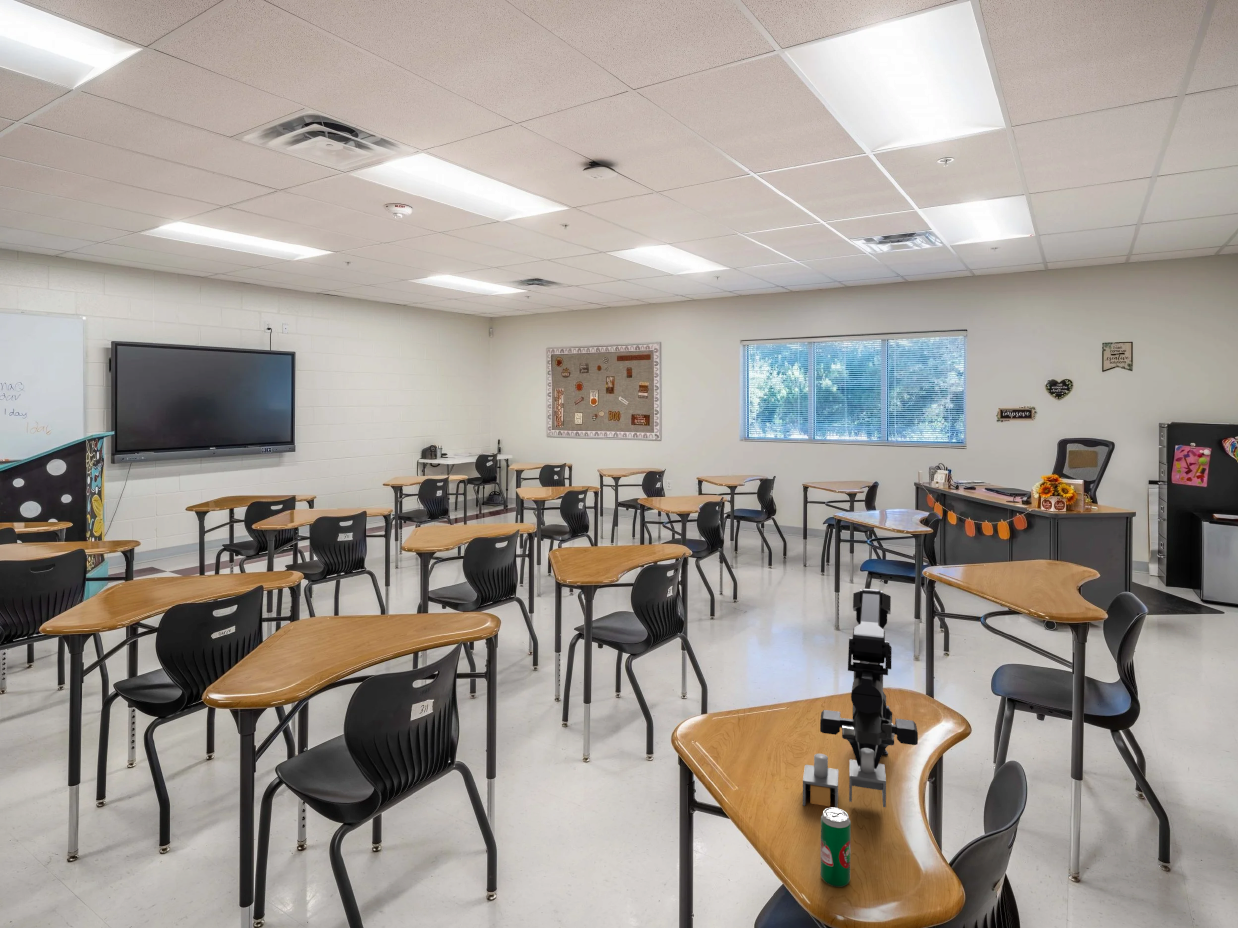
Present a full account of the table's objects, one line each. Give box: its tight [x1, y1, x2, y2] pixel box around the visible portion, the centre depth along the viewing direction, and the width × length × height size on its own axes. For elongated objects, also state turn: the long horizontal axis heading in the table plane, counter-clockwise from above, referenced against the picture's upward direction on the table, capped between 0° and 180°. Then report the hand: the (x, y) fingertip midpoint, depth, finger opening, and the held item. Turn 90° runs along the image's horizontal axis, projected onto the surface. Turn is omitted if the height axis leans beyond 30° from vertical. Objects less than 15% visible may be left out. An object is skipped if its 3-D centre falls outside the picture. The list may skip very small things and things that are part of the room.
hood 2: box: [848, 748, 887, 808], centre depth 142 cm, size 7×7×10 cm
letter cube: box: [809, 785, 832, 807], centre depth 146 cm, size 4×4×4 cm
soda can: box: [820, 807, 852, 888], centre depth 121 cm, size 5×5×12 cm
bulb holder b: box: [802, 753, 839, 809], centre depth 146 cm, size 7×7×10 cm
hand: (867, 766), depth 142 cm, fingers closed on hood 2, 3 cm apart
